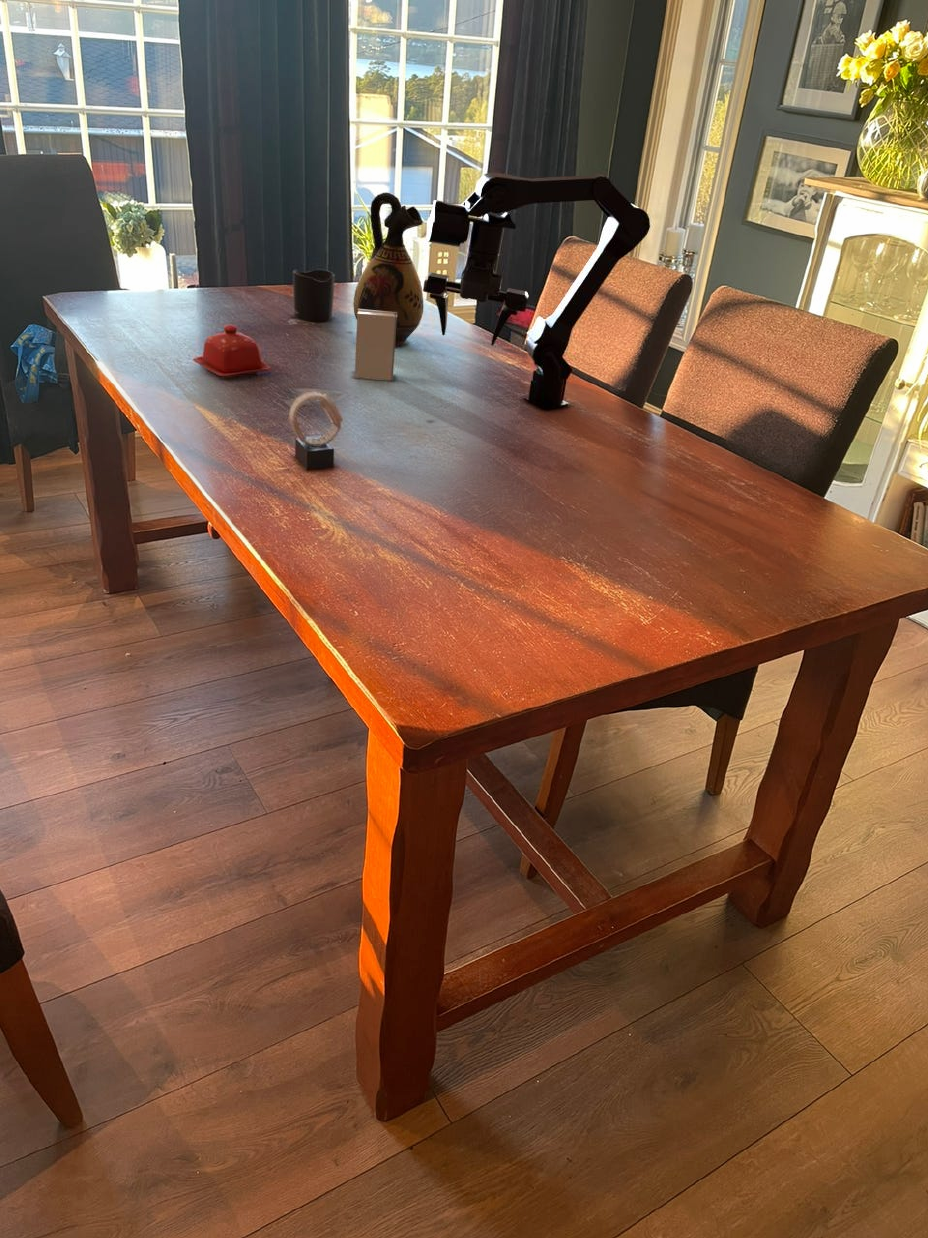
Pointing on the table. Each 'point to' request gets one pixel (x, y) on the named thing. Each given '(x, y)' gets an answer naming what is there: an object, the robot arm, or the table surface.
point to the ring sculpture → (315, 448)
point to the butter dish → (231, 354)
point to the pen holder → (313, 295)
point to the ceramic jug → (392, 270)
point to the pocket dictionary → (375, 344)
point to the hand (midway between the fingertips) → (467, 339)
